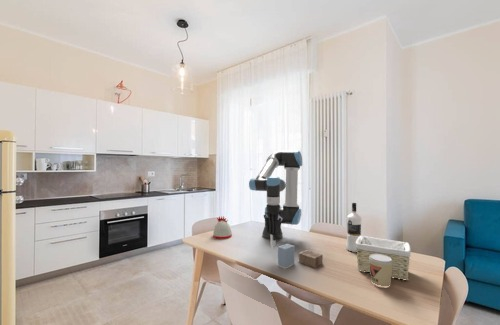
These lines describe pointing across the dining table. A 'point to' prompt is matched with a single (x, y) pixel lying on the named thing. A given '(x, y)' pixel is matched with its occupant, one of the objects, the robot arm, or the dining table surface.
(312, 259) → the walnut block
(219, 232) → the beanie hat
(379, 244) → the storage basket
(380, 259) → the coffee cup
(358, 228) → the vodka
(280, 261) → the slate block
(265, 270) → the dining table surface
